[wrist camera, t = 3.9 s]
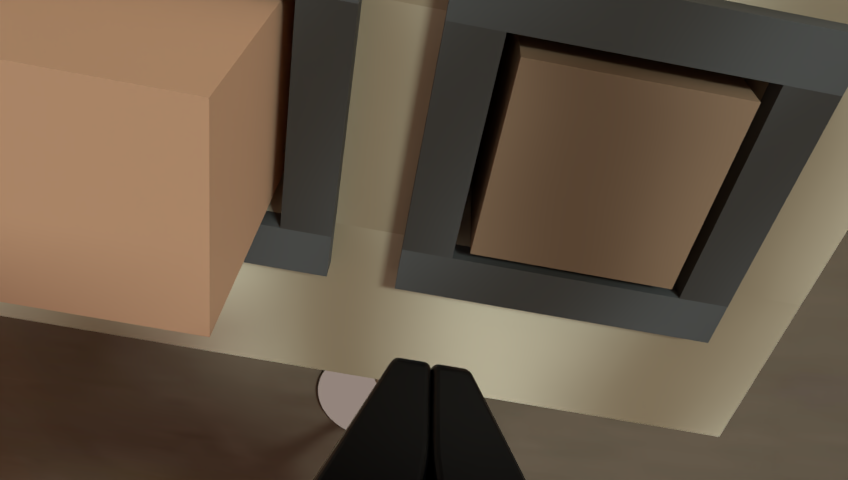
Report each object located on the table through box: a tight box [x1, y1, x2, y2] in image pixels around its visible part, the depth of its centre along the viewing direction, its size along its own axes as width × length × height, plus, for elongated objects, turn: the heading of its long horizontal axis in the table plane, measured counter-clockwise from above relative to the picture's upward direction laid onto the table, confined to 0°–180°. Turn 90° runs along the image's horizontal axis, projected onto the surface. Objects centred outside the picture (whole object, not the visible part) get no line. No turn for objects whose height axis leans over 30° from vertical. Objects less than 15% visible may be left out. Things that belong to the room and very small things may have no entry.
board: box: [0, 0, 848, 437], centre depth 15 cm, size 18×13×6 cm
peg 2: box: [470, 32, 761, 289], centre depth 15 cm, size 4×4×5 cm
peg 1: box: [0, 0, 295, 337], centre depth 12 cm, size 4×4×5 cm
